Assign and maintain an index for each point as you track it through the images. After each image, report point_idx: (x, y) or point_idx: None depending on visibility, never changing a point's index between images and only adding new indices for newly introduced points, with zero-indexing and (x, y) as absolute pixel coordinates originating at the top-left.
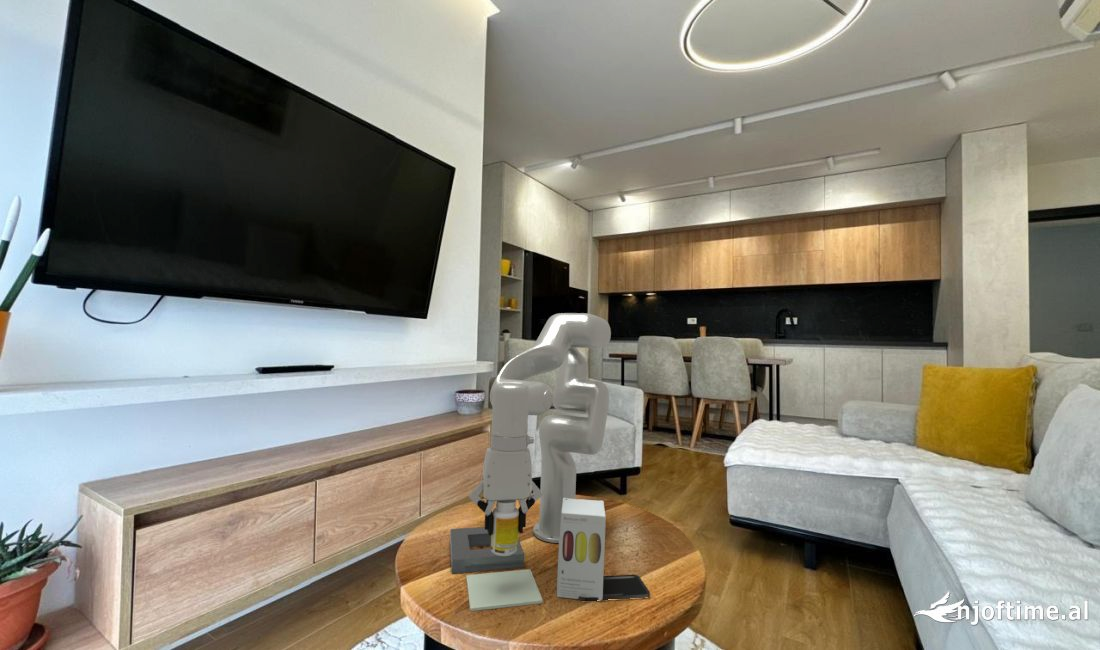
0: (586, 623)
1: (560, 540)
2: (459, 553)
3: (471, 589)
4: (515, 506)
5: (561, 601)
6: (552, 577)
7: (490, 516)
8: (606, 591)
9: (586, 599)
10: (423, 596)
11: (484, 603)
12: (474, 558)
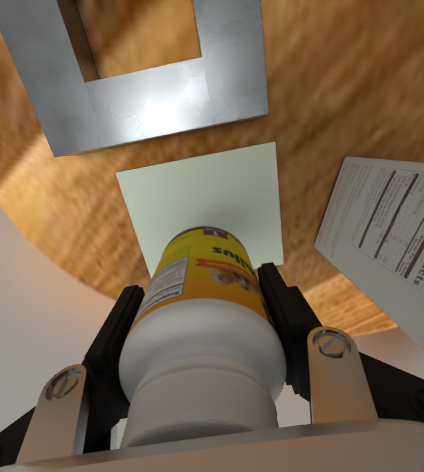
0: (340, 307)
1: (403, 330)
2: (59, 113)
3: (142, 231)
4: None
5: (317, 256)
6: (323, 170)
7: (123, 415)
8: None
9: None
10: (53, 242)
11: None
12: (116, 144)
